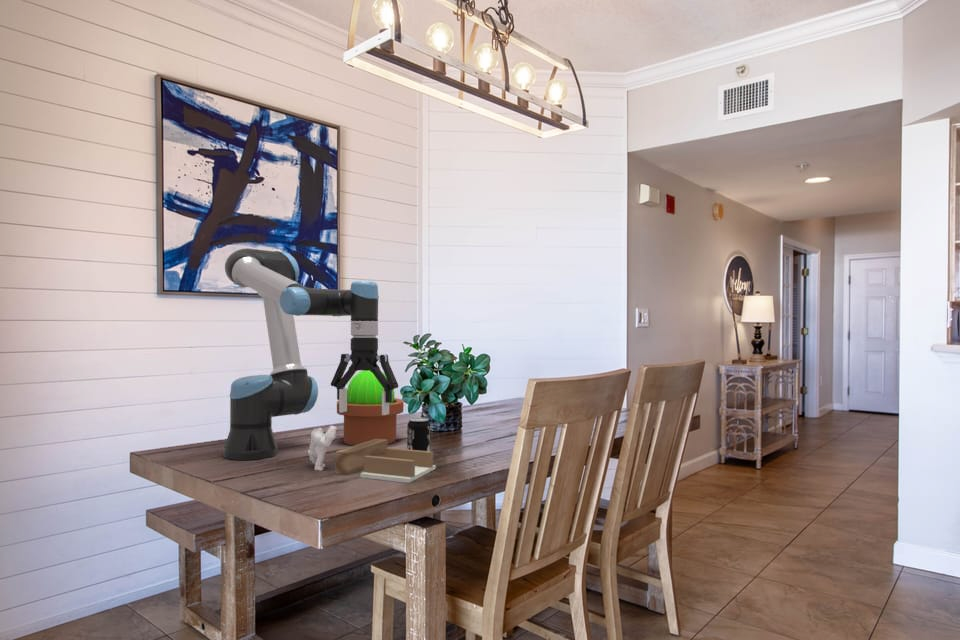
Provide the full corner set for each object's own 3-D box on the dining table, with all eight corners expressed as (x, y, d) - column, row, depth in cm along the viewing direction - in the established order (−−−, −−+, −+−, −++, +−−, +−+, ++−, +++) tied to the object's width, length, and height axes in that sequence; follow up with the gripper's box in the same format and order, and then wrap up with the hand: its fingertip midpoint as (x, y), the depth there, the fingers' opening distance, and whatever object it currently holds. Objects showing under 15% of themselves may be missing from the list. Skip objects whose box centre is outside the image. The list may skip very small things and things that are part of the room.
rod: (335, 474, 161) (335, 451, 161) (375, 458, 180) (375, 438, 180) (348, 475, 159) (348, 453, 159) (387, 460, 178) (387, 439, 178)
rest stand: (360, 477, 157) (360, 458, 157) (390, 464, 172) (390, 446, 172) (408, 482, 152) (408, 462, 152) (435, 468, 167) (435, 450, 167)
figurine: (339, 469, 165) (339, 425, 165) (323, 473, 161) (324, 427, 161) (315, 463, 172) (316, 421, 172) (300, 466, 168) (301, 423, 168)
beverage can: (426, 463, 173) (426, 421, 173) (403, 462, 175) (404, 420, 175) (432, 458, 180) (432, 417, 180) (411, 457, 181) (411, 416, 181)
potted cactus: (399, 448, 193) (399, 369, 194) (329, 447, 193) (330, 369, 193) (406, 435, 215) (407, 365, 216) (344, 435, 215) (344, 364, 215)
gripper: (318, 336, 170) (318, 412, 170) (397, 337, 162) (397, 417, 162) (334, 336, 178) (333, 409, 177) (410, 337, 169) (410, 413, 169)
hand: (364, 413), depth 169 cm, fingers open, 13 cm apart
